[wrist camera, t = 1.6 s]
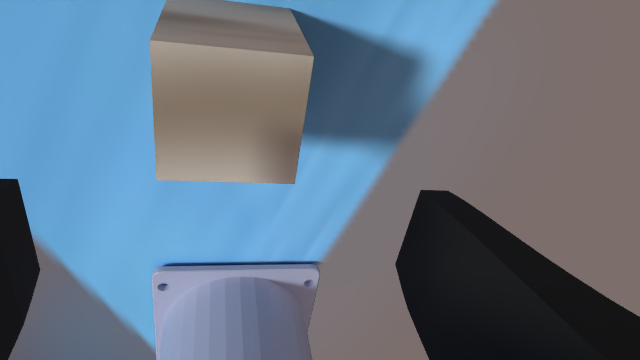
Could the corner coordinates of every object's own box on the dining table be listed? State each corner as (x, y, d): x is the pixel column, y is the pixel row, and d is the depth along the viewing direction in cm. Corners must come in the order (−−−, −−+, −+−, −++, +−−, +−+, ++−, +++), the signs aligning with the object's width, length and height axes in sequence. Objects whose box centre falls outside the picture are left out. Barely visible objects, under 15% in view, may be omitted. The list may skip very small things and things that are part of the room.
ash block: (277, 112, 18) (294, 183, 14) (171, 105, 17) (156, 180, 13) (289, 8, 16) (314, 56, 12) (169, -7, 15) (149, 39, 11)
